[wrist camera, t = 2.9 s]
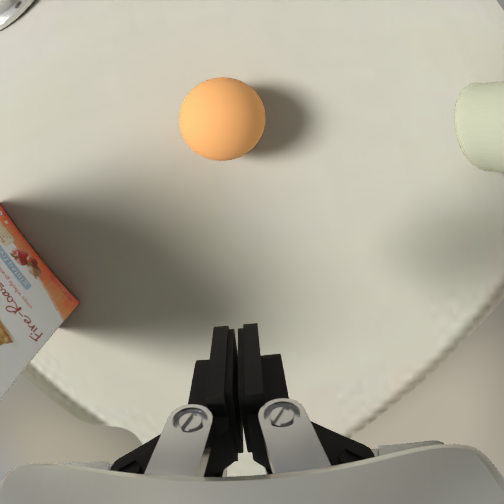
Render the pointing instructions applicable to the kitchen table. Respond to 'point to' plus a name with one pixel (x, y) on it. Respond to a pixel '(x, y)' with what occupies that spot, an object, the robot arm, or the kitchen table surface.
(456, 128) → the can
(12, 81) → the kitchen table surface
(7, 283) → the cracker box
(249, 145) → the ball
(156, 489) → the robot arm
